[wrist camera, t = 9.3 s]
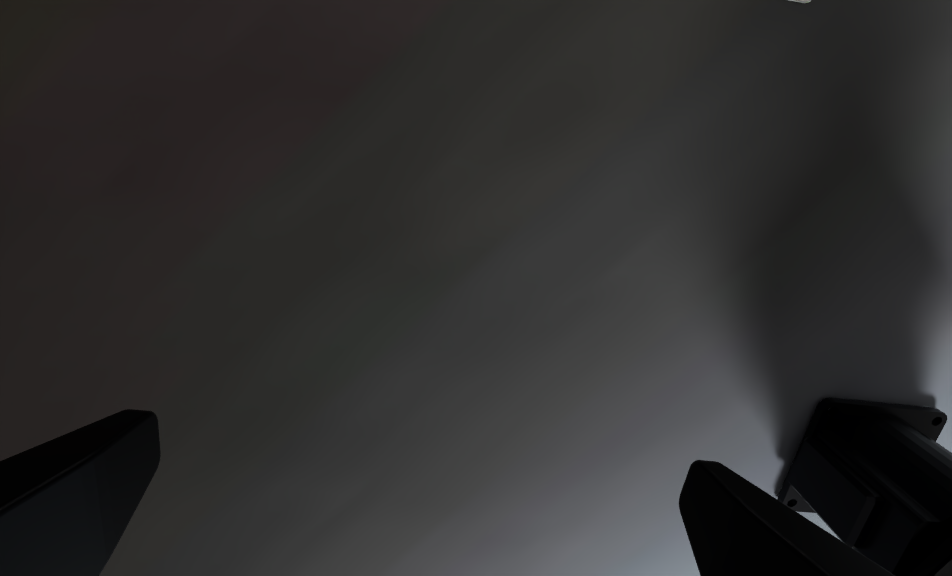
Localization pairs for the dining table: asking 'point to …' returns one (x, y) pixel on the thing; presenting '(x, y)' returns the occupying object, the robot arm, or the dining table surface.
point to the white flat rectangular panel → (801, 1)
